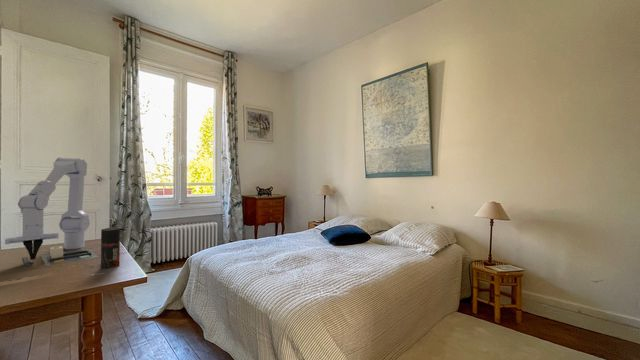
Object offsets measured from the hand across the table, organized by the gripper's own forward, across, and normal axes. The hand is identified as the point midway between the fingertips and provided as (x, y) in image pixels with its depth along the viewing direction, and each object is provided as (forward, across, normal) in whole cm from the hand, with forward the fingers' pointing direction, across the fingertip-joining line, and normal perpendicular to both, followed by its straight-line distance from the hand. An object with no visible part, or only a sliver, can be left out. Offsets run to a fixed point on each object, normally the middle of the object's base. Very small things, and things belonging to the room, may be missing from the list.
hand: (32, 259), depth 108 cm
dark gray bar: (+2, -2, +2) cm, 4 cm away
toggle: (+1, +7, 0) cm, 7 cm away
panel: (+2, +11, 0) cm, 11 cm away
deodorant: (+3, +20, -23) cm, 31 cm away
